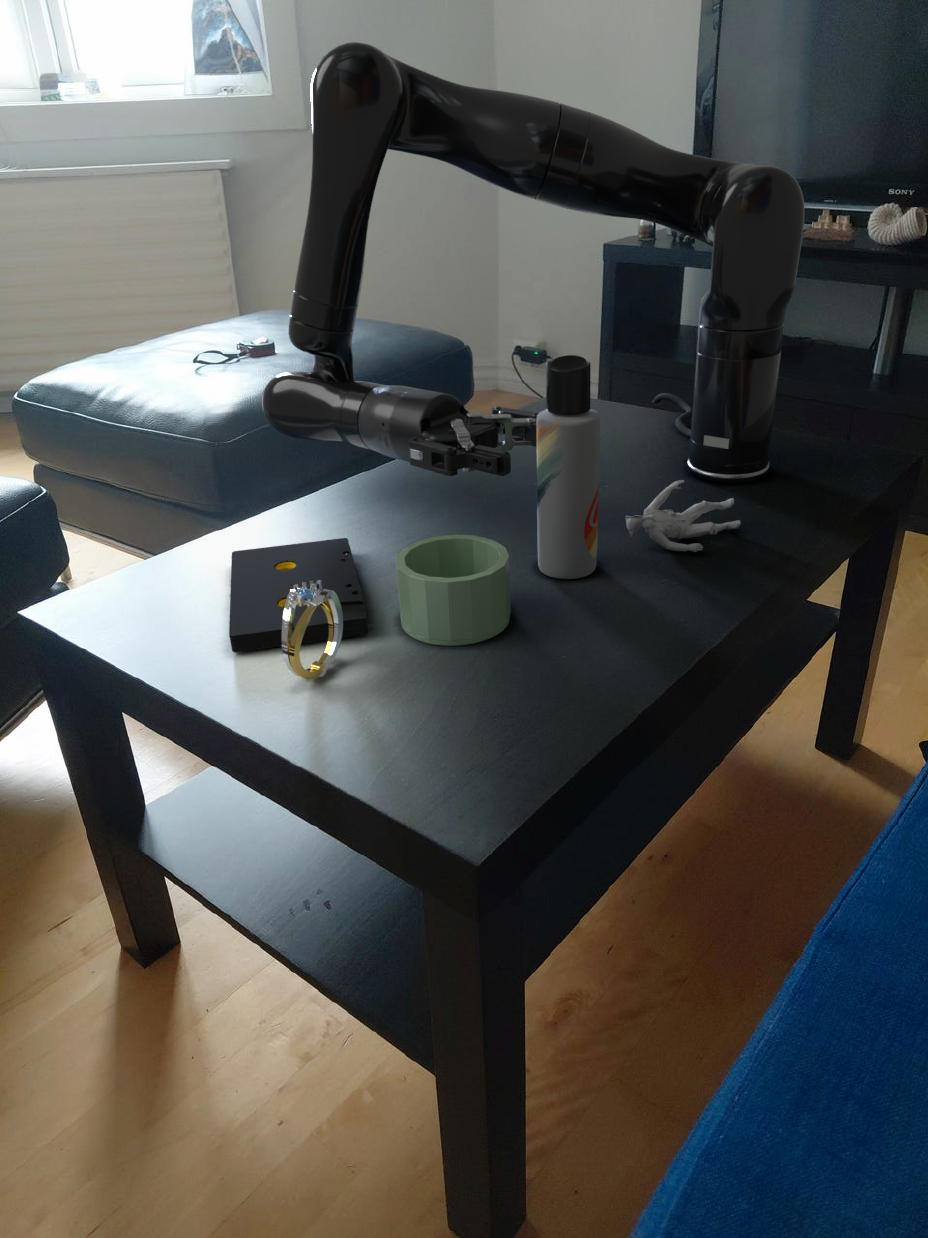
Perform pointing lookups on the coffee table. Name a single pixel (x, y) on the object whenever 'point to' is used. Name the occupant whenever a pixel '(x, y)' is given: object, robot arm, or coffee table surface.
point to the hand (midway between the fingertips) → (537, 451)
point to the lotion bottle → (568, 472)
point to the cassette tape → (273, 575)
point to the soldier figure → (678, 521)
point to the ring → (293, 642)
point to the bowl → (454, 589)
